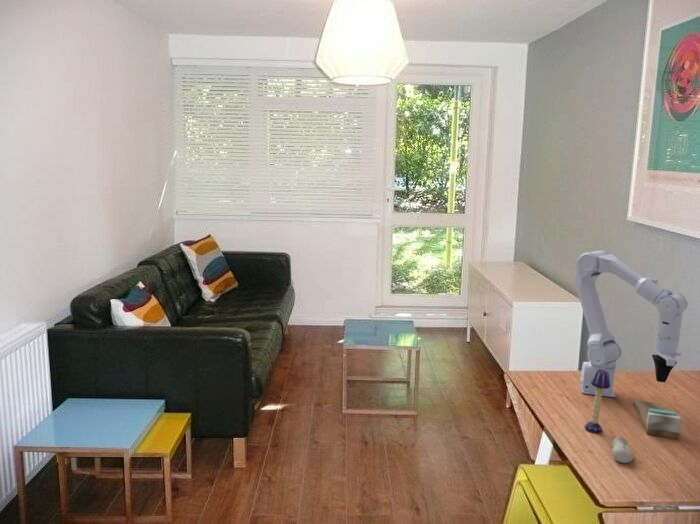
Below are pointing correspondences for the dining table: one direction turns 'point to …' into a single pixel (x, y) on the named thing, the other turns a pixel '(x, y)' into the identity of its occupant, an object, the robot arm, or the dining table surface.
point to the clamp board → (657, 420)
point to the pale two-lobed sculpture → (621, 450)
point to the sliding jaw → (662, 411)
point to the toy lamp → (598, 399)
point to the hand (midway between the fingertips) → (660, 381)
